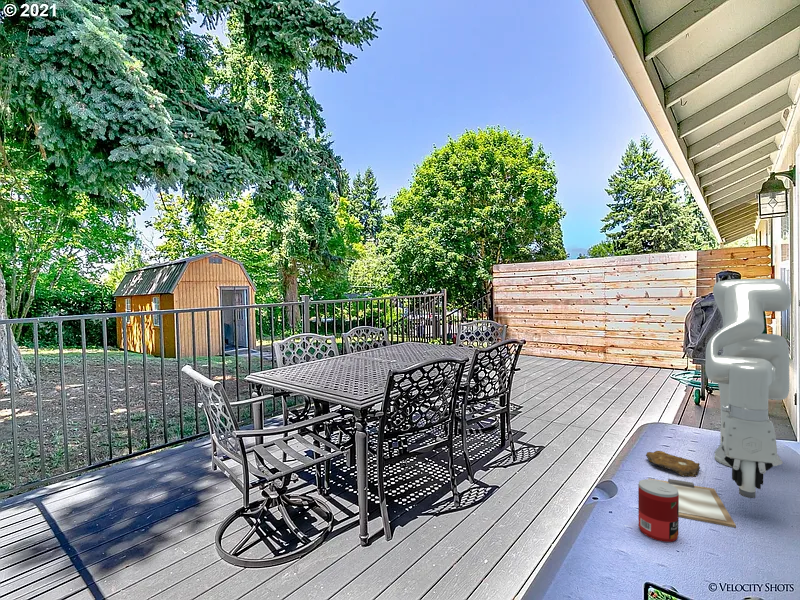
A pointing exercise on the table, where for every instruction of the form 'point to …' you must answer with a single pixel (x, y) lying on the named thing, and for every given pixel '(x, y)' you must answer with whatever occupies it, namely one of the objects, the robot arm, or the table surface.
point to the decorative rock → (674, 463)
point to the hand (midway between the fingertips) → (747, 484)
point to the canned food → (658, 510)
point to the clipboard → (700, 503)
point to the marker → (748, 479)
